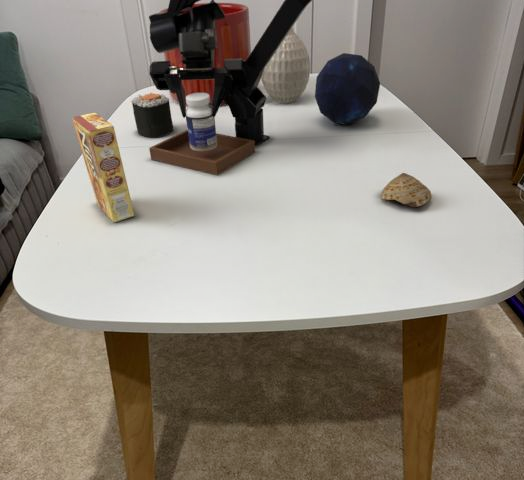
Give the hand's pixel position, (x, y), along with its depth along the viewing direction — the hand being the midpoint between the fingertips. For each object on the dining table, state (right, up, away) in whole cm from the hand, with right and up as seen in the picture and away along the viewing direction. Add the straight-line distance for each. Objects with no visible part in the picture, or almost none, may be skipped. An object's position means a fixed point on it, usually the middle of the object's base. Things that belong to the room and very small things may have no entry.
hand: (198, 116), depth 100 cm
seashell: (+38, -20, -11) cm, 44 cm away
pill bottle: (0, -4, +6) cm, 7 cm away
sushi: (-13, +6, +21) cm, 25 cm away
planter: (-1, +25, +42) cm, 49 cm away
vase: (+19, +21, +36) cm, 46 cm away
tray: (0, -5, +8) cm, 9 cm away
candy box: (-14, -22, -10) cm, 27 cm away
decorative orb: (+32, +8, +21) cm, 39 cm away
